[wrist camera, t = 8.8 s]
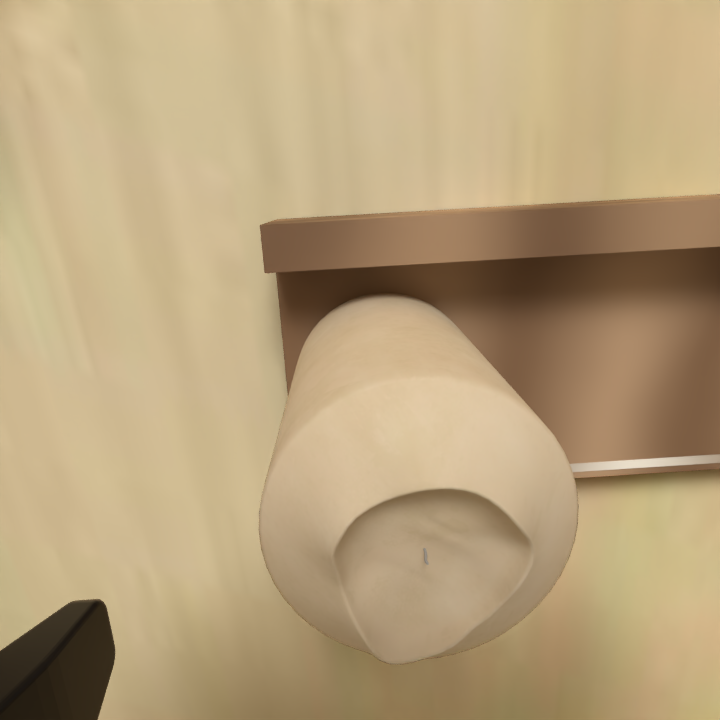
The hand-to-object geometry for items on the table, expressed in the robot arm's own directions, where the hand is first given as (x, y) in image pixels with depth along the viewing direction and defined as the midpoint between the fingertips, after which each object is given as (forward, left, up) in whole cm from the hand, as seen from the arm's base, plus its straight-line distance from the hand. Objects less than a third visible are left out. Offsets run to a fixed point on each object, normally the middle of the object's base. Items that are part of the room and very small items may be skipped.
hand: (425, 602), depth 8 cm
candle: (0, 0, -11) cm, 11 cm away
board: (-5, -1, -12) cm, 13 cm away
